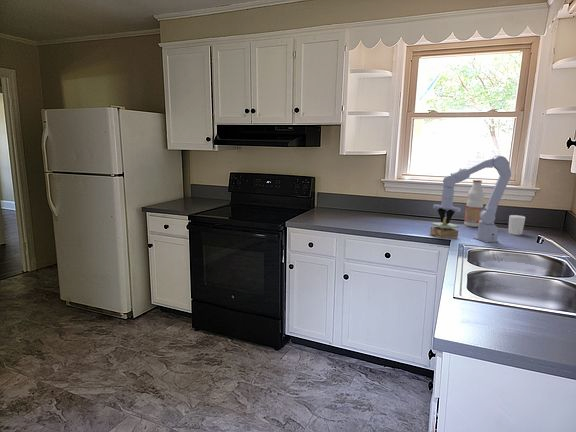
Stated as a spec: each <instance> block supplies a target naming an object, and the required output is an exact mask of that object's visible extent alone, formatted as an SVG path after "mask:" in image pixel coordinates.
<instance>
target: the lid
mask: <svg viewBox="0 0 576 432" xmlns="http://www.w3.org/2000/svg"><path fill="white" fill-rule="evenodd" d="M446 219H447V217H445V218H443V223H441V222H431V226H434V227H440V228H453V229H456V228H457V229H458V228H460V226H459V225H456V224H453V223H450V222H449V224H446Z"/></svg>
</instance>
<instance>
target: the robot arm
mask: <svg viewBox="0 0 576 432" xmlns="http://www.w3.org/2000/svg"><path fill="white" fill-rule="evenodd" d="M486 168H487V169H488V168H490V169H491V168H493V169H495V170H496V171H497V173H498V174H499V175H498V179H497V180H496V182H495V185H494V187H493V190H492V192H491V194H490V196H489V199H488V202H487V203H486V205H485V206H484V207H483V210H482V211H481V212H480V218H481V220H480V221H479V226H478V227H477V235H476V236H473V238H474V239H475V240H476V239H477V240H479V241H481V242H484V243H495V242H499V240H498V235H499V228H498V226H496V225H495V220H496V213H497V209H498V206H499V204H500V201H501V199H502V198H503V195H504V192H505V191H506V188H507V186H508V183H509V181H510V179H511V177H512V171H511V166H510V162H509V160H508V159H507V157H506V156H503V155H494V156H492V157H490V158H486V159H484V160H482V161H480V162H478V163H477V164H475V165H473V166H471V167H469V168H465V167H463V168H459V169H458V171H455V172H451V173H450V174H449V175H446V176H445V177H444V178H443V180H442V183H443V185H442V192H441V203H440V204H436V203H435V204H433V205H432V209H437V213H438V215H439V219H440V223H443V218H447V219H446V224H449V223H450V221H451V219H452V217H453V216H454V214H455V212H457V213H460V212H461V209H462V208H461V207H457V206H453V204H454V197H455V196H454V195H455V189H454V188H455V185H456V184H459V183H461V182H463V181H465V180H467V179H469V178H470V177H471V175H473V174H474V173H477V172H479V171H482V170H483V169H486Z"/></svg>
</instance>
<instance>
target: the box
mask: <svg viewBox="0 0 576 432" xmlns="http://www.w3.org/2000/svg"><path fill="white" fill-rule="evenodd" d="M440 229H441V228H440V227H438V226H431V227H430V235H431V236H435V237H437V238H439V239H455V238H459V237H458V236H459V230H458V229H456V228H442V229H444V230H447V231H442V230H440Z"/></svg>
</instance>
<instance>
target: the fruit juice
mask: <svg viewBox="0 0 576 432" xmlns="http://www.w3.org/2000/svg"><path fill="white" fill-rule="evenodd" d="M482 183H483V181H482V179H472V186H471V187H470V190H469V191H468V192H467V200H466V204H465V211H464V212H465V215H464V223H463V224H464V225H465V226H467V227H473V228H475V227H476V228H478V226H479V221H480V220H481V218H480V212H481V211H482V210H483V209H484V197H485V192H484V190H483V187H482Z"/></svg>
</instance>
